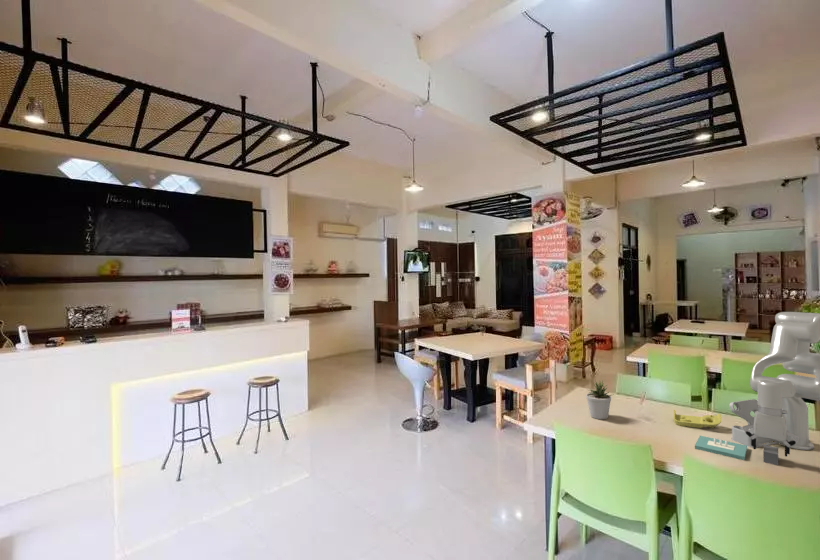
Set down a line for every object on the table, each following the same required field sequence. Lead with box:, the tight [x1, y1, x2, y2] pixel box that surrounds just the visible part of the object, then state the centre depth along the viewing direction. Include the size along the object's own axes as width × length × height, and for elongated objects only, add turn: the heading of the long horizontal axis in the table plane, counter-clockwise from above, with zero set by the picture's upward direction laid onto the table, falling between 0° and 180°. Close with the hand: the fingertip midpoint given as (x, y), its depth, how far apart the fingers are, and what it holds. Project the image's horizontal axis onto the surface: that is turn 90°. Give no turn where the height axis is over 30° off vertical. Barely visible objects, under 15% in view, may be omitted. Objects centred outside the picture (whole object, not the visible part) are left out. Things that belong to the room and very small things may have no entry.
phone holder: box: [728, 398, 779, 449], centre depth 180 cm, size 17×10×18 cm, turn 104°
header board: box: [694, 435, 748, 461], centre depth 174 cm, size 14×17×4 cm
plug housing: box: [762, 445, 779, 466], centre depth 162 cm, size 4×8×4 cm, turn 136°
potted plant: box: [585, 379, 614, 420], centre depth 216 cm, size 13×14×20 cm
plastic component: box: [673, 409, 722, 429], centre depth 200 cm, size 20×7×10 cm
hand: (770, 451), depth 162 cm, fingers open, 9 cm apart
